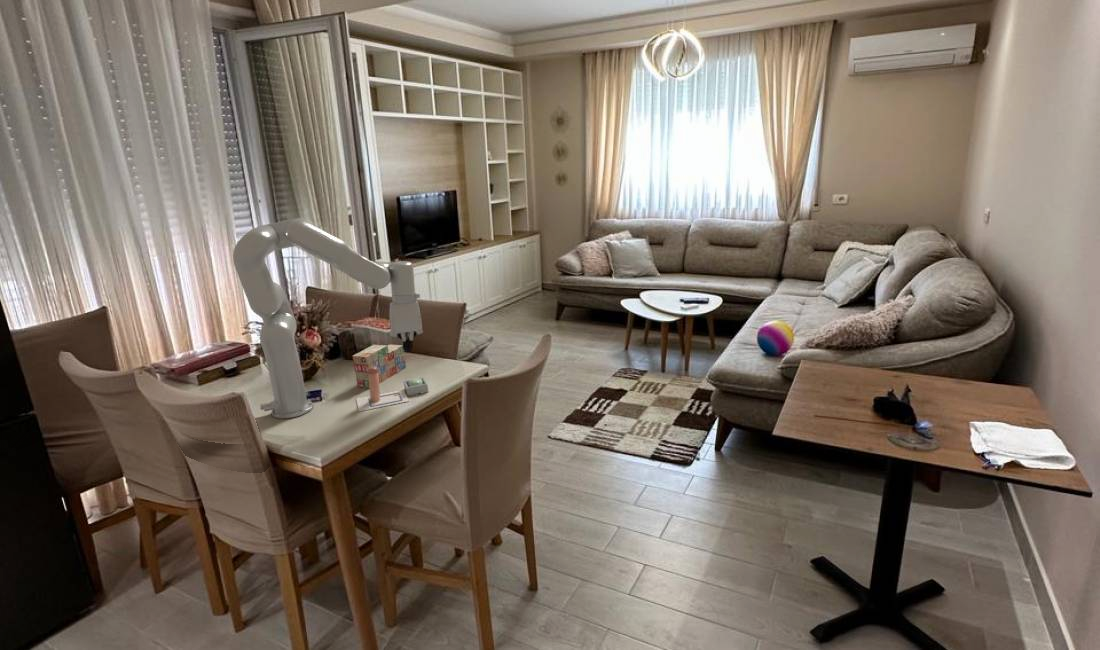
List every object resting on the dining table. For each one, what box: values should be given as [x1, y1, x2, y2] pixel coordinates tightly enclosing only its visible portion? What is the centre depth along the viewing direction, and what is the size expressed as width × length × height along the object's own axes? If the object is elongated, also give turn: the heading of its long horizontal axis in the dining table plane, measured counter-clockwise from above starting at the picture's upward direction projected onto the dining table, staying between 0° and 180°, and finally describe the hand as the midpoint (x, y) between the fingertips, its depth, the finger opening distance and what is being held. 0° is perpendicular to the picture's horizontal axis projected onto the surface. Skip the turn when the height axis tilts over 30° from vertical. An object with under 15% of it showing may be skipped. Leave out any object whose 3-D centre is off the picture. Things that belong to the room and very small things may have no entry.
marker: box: [367, 366, 381, 402], centre depth 192 cm, size 3×3×12 cm
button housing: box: [403, 377, 429, 397], centre depth 200 cm, size 7×7×3 cm
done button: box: [408, 378, 423, 387], centre depth 200 cm, size 5×5×3 cm
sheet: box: [355, 389, 410, 412], centre depth 194 cm, size 16×11×1 cm
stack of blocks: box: [352, 344, 407, 389], centre depth 214 cm, size 21×6×12 cm, turn 159°
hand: (408, 351), depth 196 cm, fingers closed
